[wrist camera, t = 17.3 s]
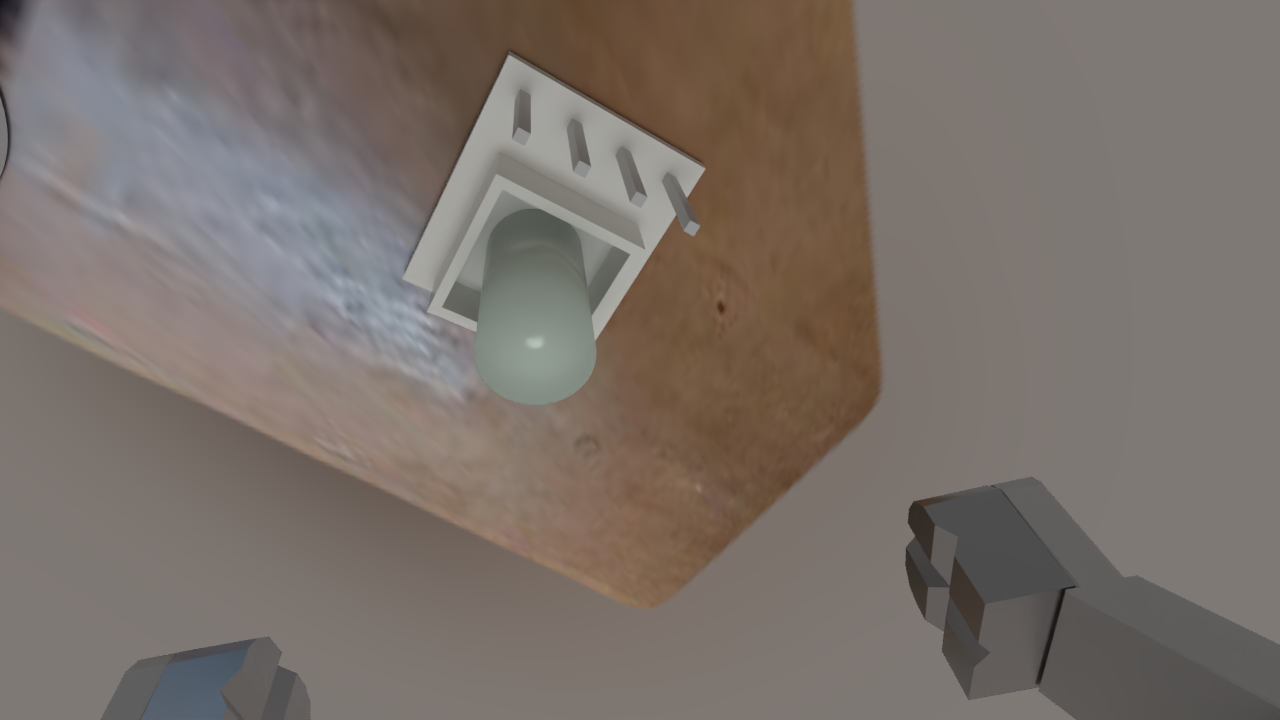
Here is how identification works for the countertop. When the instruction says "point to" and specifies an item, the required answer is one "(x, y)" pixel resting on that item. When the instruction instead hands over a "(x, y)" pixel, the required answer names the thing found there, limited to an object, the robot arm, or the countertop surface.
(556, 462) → the countertop surface
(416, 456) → the countertop surface
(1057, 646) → the robot arm
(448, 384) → the countertop surface
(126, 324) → the countertop surface
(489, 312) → the sage green cylinder
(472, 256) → the dish rack
